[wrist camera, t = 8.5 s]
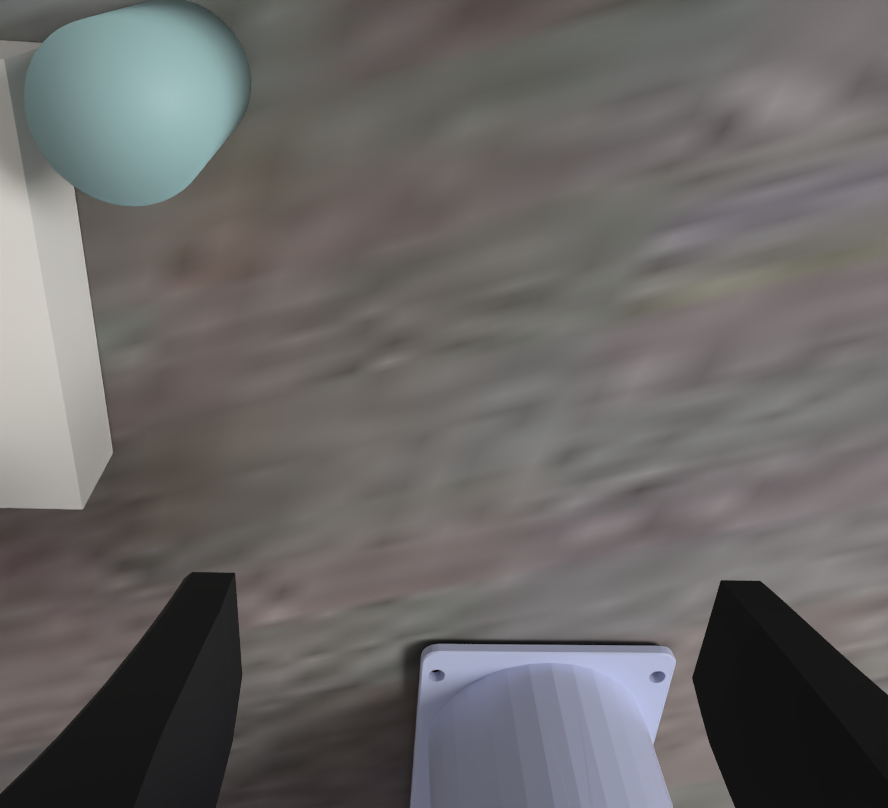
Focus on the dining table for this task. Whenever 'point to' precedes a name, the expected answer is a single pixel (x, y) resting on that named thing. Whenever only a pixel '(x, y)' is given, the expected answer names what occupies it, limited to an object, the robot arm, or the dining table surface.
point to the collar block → (43, 322)
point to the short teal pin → (136, 99)
